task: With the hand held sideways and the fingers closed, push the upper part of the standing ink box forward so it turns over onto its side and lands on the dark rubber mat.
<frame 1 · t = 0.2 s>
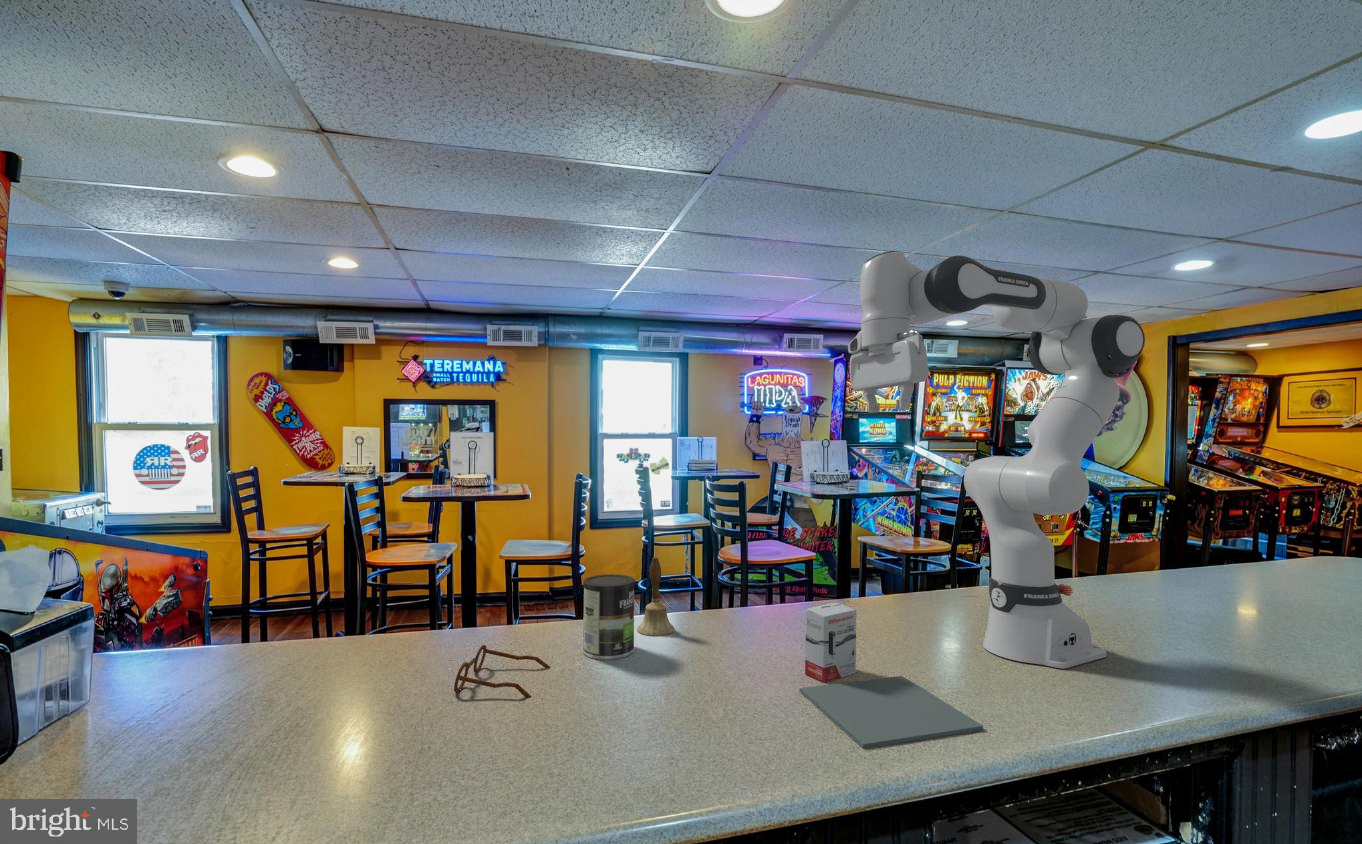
hand: (887, 411, 113), 48 cm above the worktop, tool pointing down, fingers open, 8 cm apart
ink box: (830, 675, 108), on the worktop
hand bell: (655, 631, 132), on the worktop
glasses: (504, 684, 105), on the worktop
rubber mat: (885, 709, 94), on the worktop
coffee can: (608, 651, 120), on the worktop
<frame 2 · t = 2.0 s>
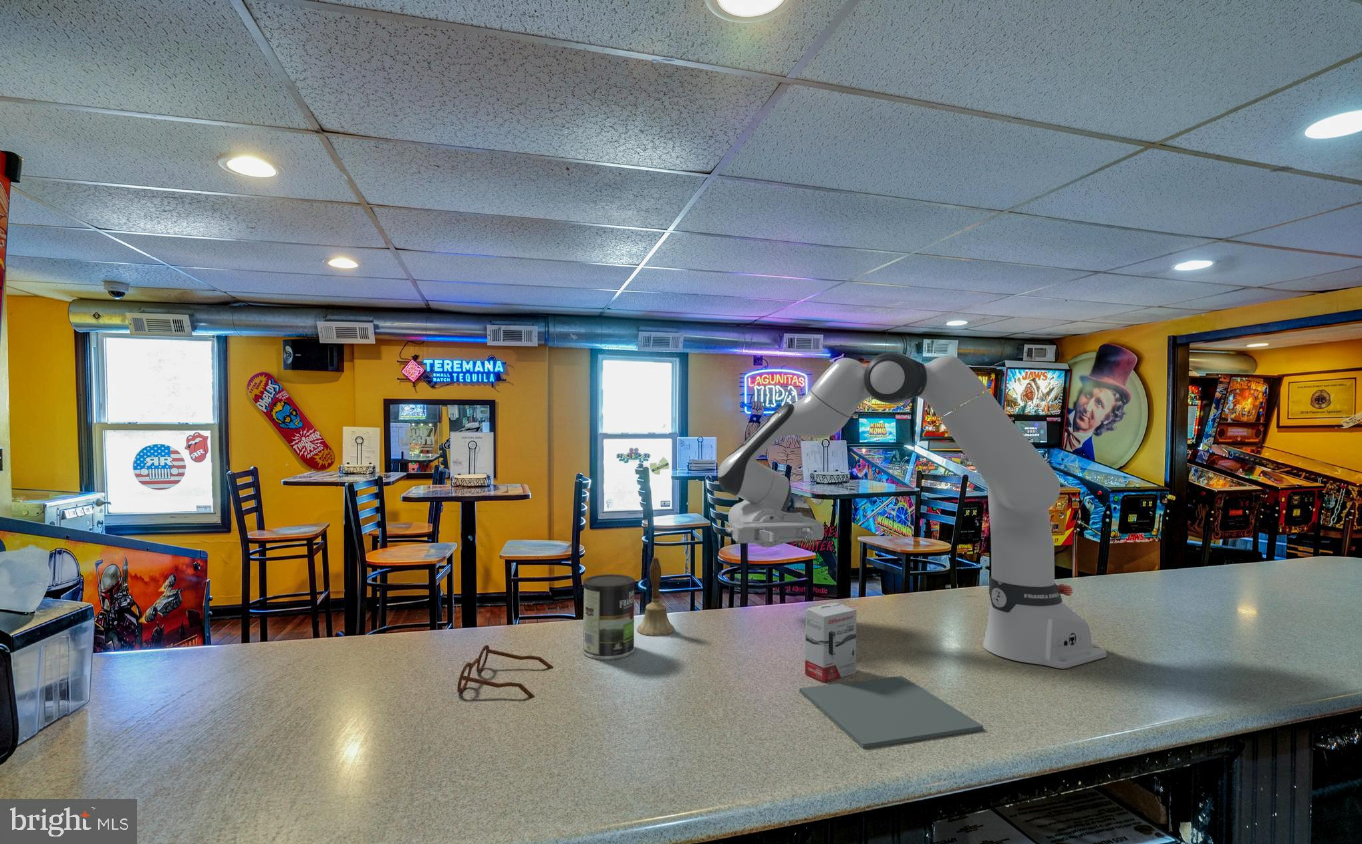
hand: (793, 537, 123), 22 cm above the worktop, tool horizontal, fingers open, 6 cm apart
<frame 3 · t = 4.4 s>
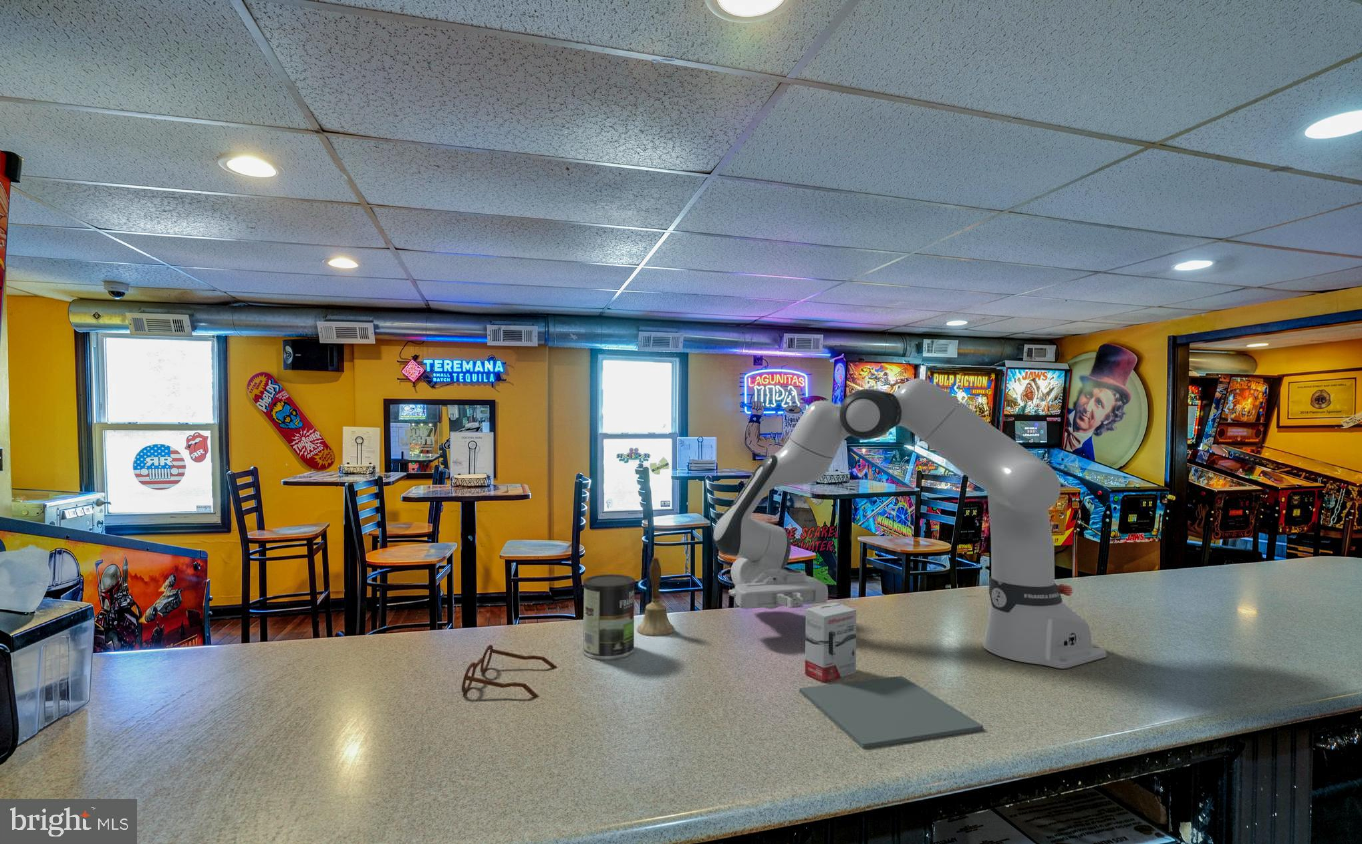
hand: (797, 603, 122), 9 cm above the worktop, tool horizontal, fingers closed
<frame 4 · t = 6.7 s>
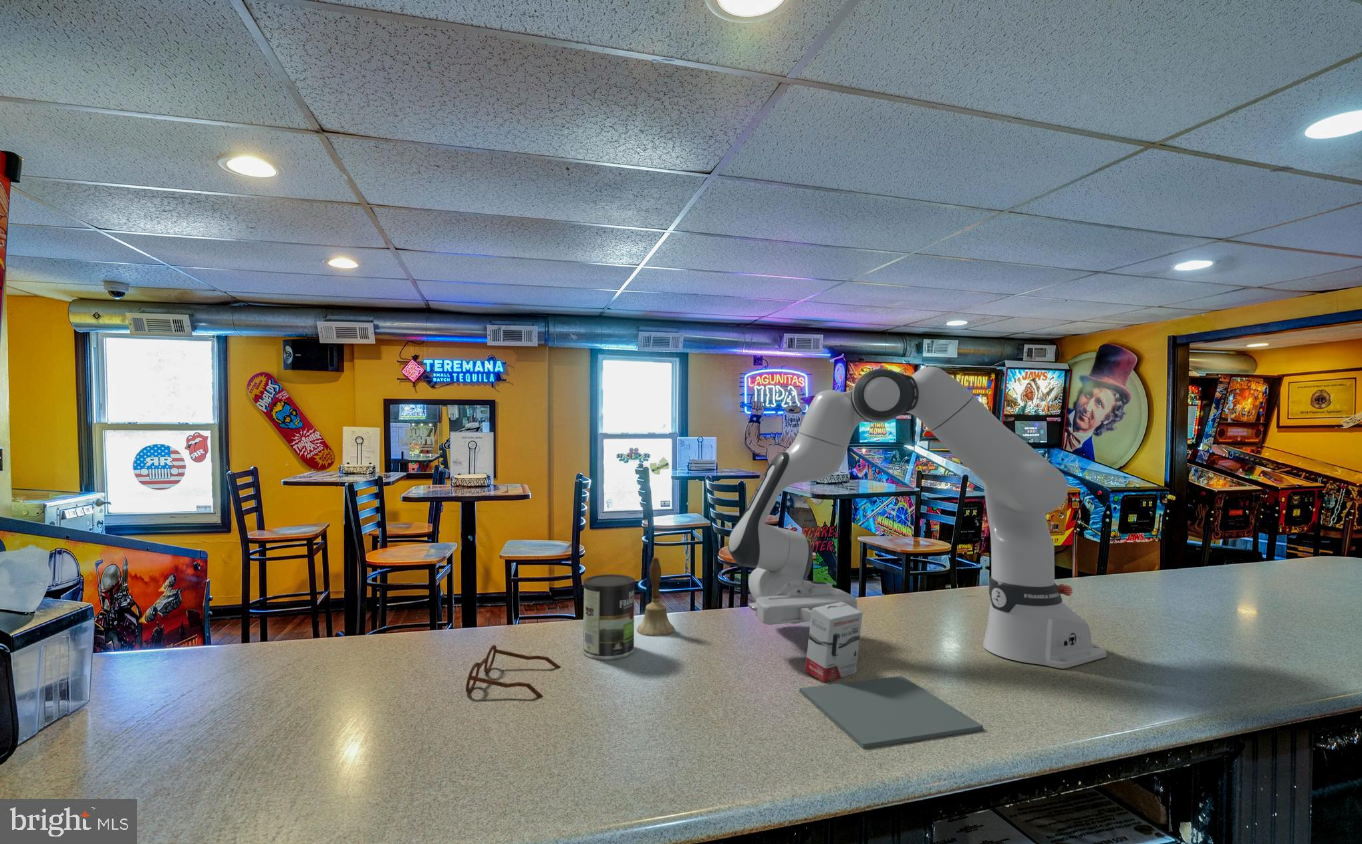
hand: (825, 619, 111), 9 cm above the worktop, tool horizontal, fingers closed
ink box: (830, 673, 108), on the worktop, touching gripper
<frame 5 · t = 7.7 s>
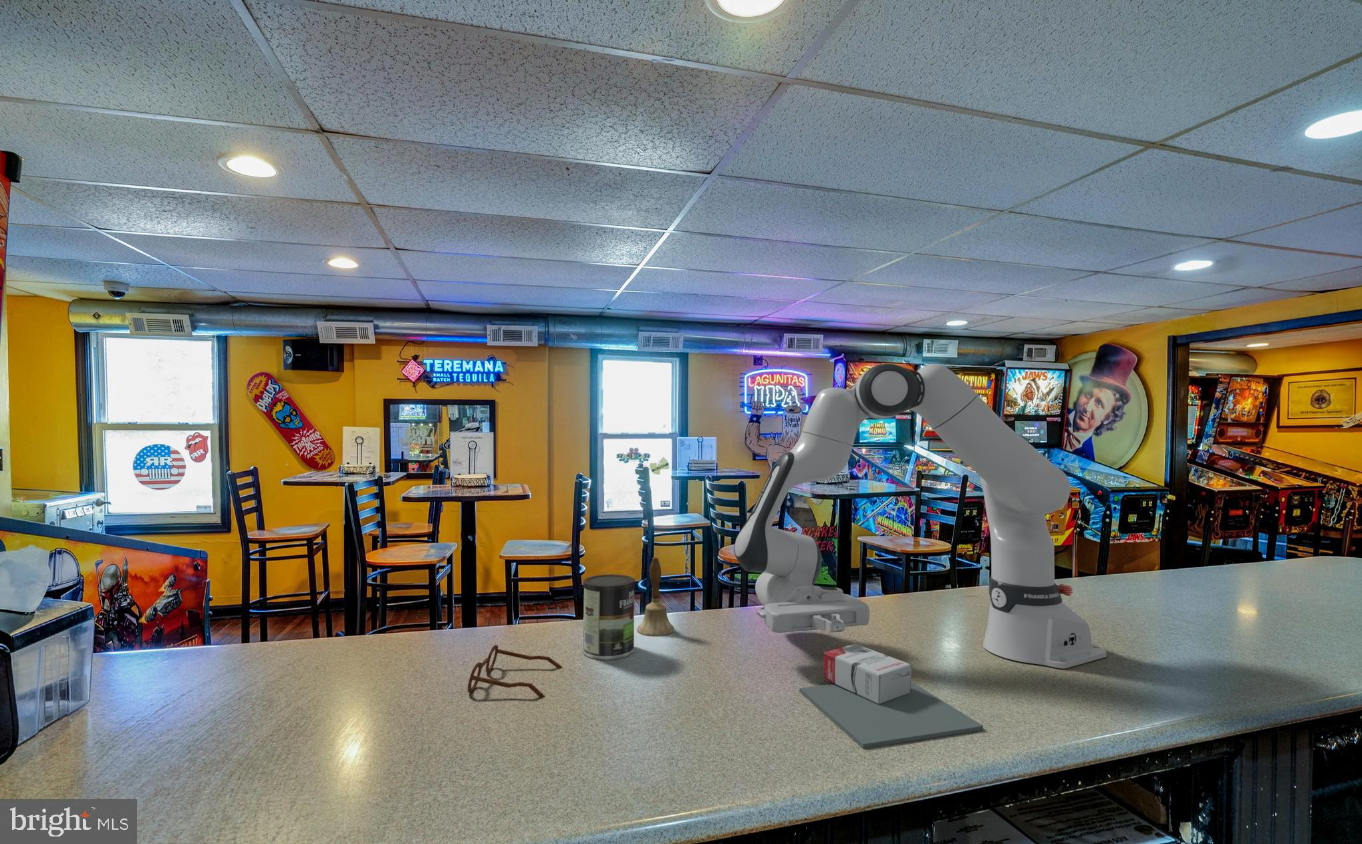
hand: (837, 627, 106), 9 cm above the worktop, tool horizontal, fingers closed
ink box: (838, 660, 107), point 3 cm above the worktop, touching rubber mat
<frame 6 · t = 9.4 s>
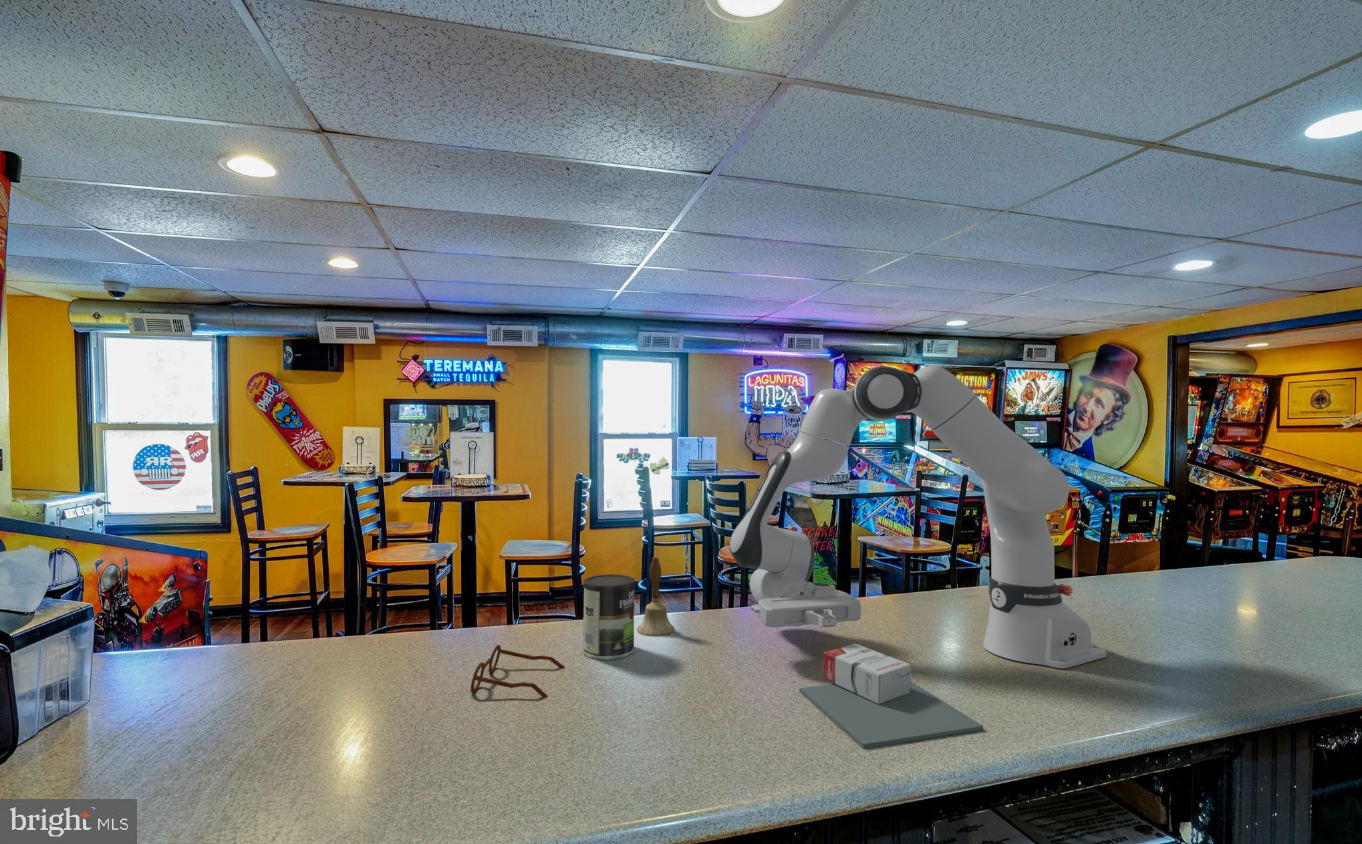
hand: (829, 622, 109), 9 cm above the worktop, tool horizontal, fingers closed
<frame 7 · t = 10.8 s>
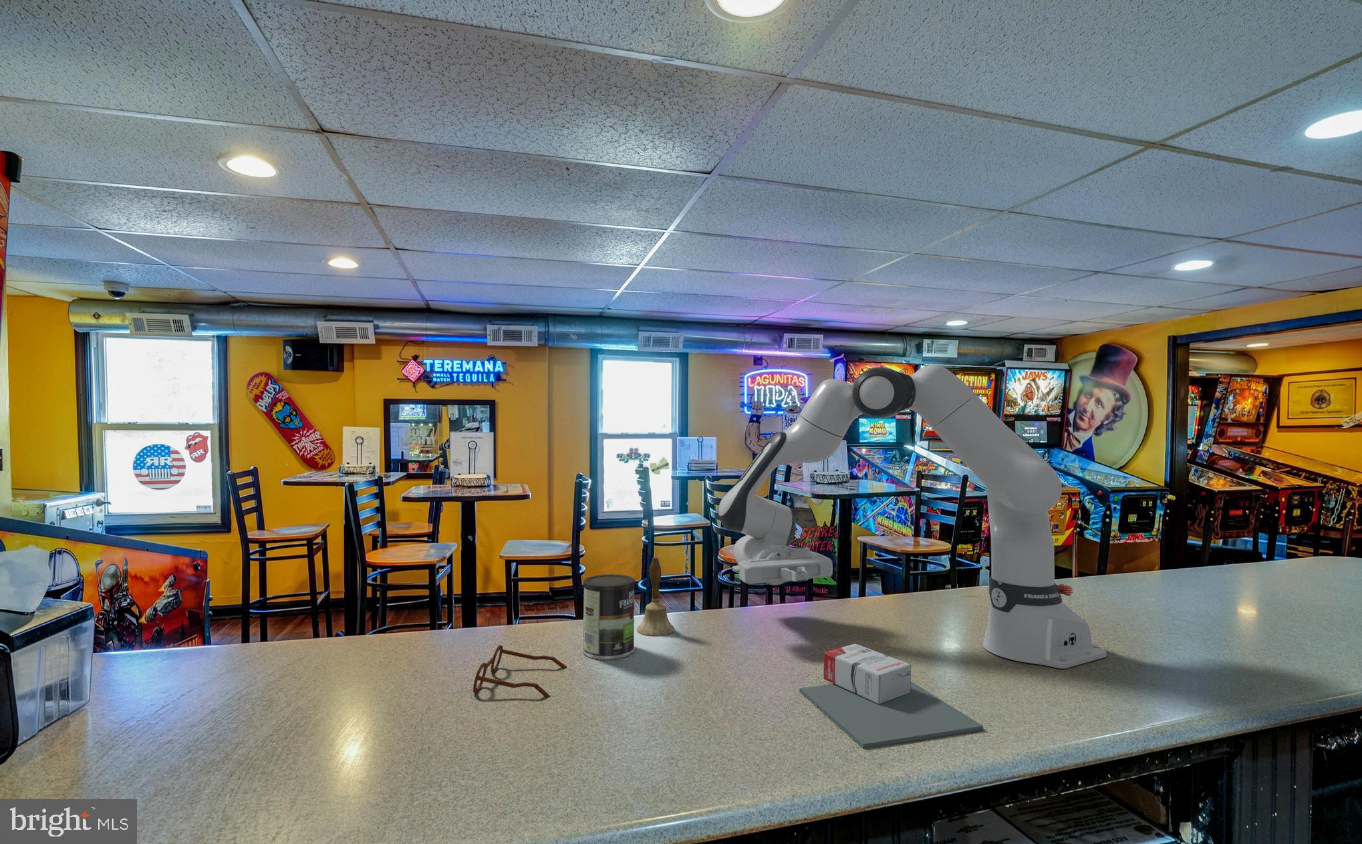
hand: (801, 576, 120), 15 cm above the worktop, tool horizontal, fingers closed
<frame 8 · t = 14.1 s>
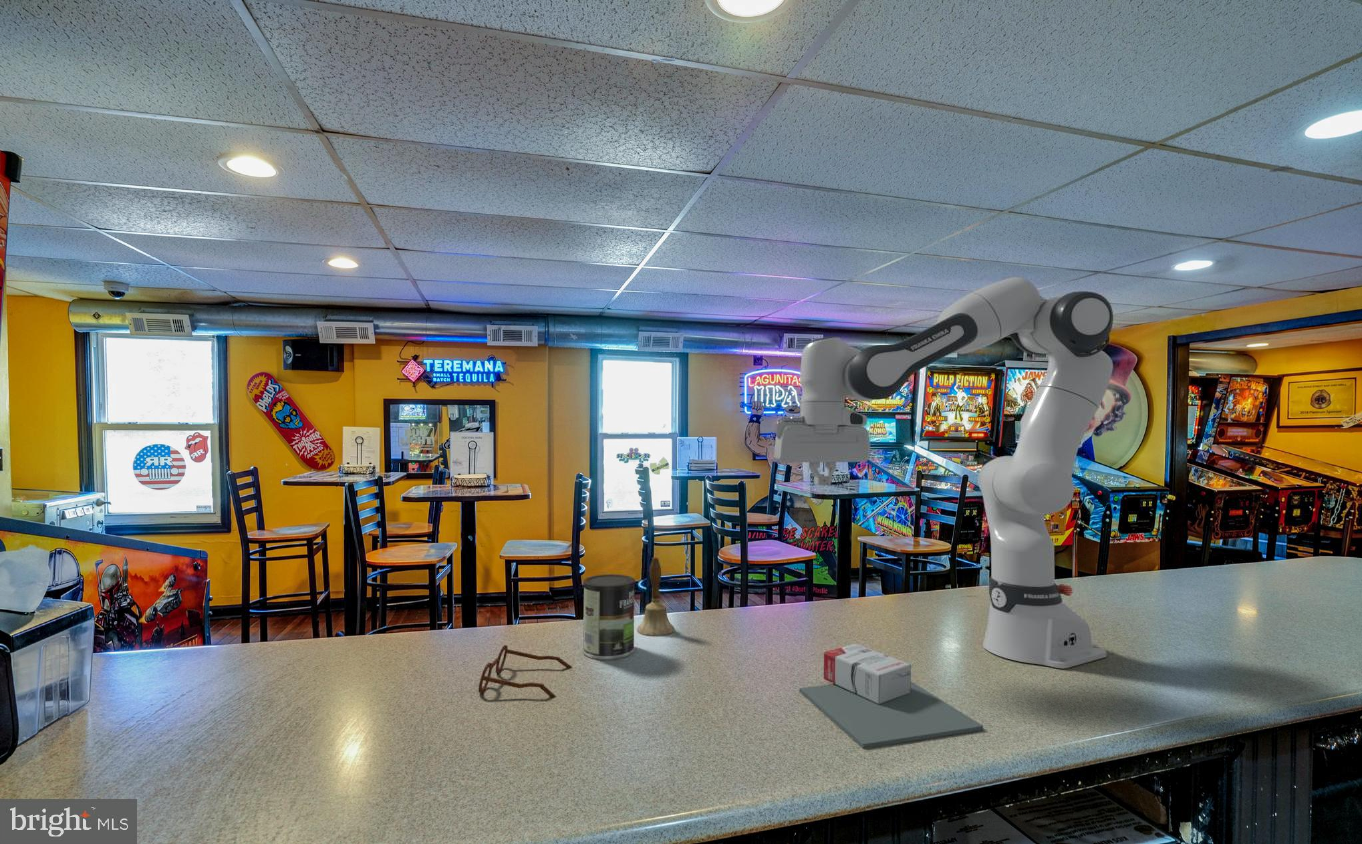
hand: (822, 484, 122), 33 cm above the worktop, tool pointing down, fingers closed
at the end: ink box tilted 90°; ink box inside the target area (4.8 cm from its centre), point 3.0 cm above the worktop; ink box touching rubber mat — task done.
